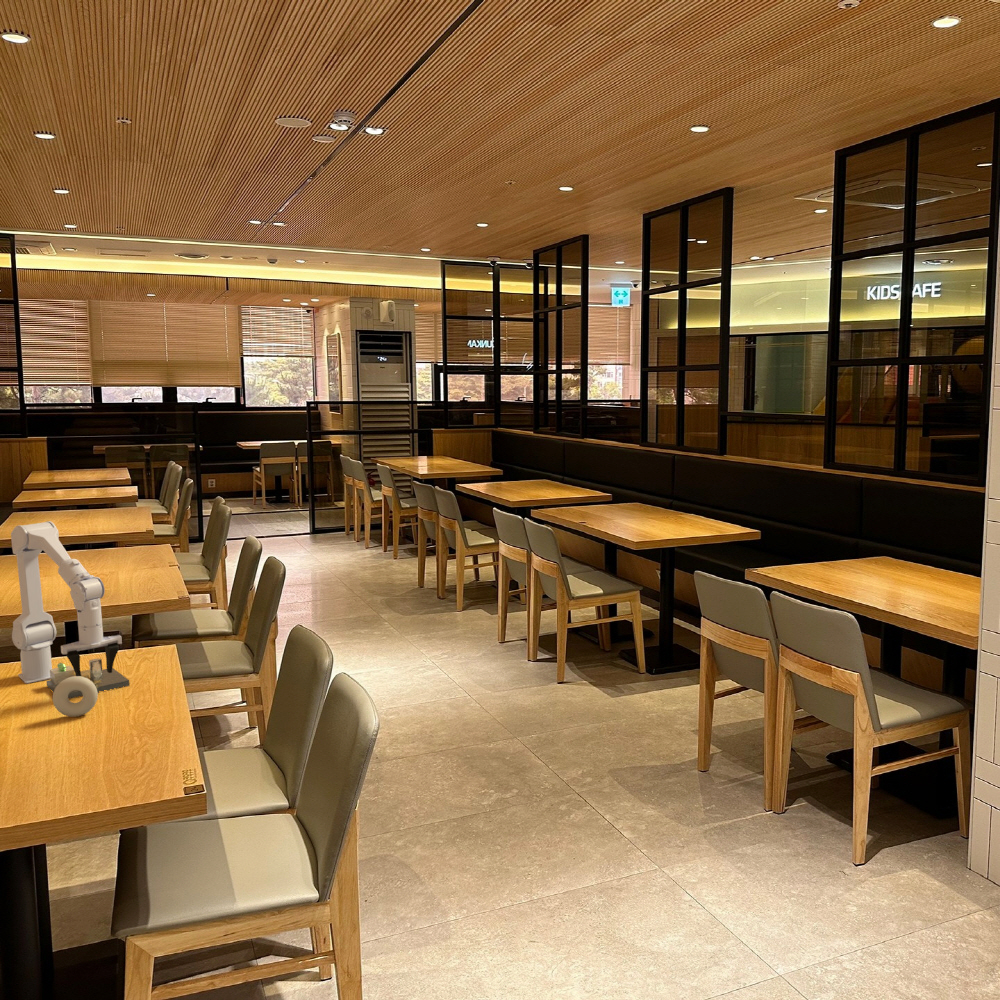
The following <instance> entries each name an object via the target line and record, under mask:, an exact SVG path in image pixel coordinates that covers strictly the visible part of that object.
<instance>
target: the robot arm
mask: <svg viewBox="0 0 1000 1000" xmlns="http://www.w3.org/2000/svg"><path fill="white" fill-rule="evenodd" d="M59 535H60V532H59V529H58V528H57V526H56V525H55V523H54V522H53V521H51V520H49V521H43V522H37V523H30V524H29V523H28V524H24V525H21V524H20V525H19V524H17V525H15V526H14V528H13V529H12V531H11V532H10V538H11V549H12V554H13V555H16V563H17V565H16V566H17V573H18V583H19V592H20V601H21V603H20V604H21V611H22V612H21V614H20V615H19V616H18V617H17V618H16V619H15V620H13V622H12V633H11V640H12V642H13V645H14V646H15V647H16V648H17V649H18V650H20V665H21V666H20V668H21V673H18V674H17V676H18V677H19V678H20V680H21V681H22V682H23V683H24V684H31V683H35V682H41V681H45V680H46V681H47V680H51V679H50V669H53V664H52V651H51V645H53V641H54V640H55V639H56V637H57V628H56V627H57V626H56V625H55V623H54V619H53V616H52V615H51V613H48V612H46V611H44V602H43V594H42V591H43V590H42V583H41V574H40V572H41V571H40V565H39V555H40V554H41V553H42V551H43V552H44V553H45V554H46V555H47V556H48V557H49V558H50V559H51V560H52V561H53V562H54V563H55V564H56V565H57V567H58V570H57V573H58V575H59V576H60V577H61V579H63V581H64V582H65V583H66V585H67V586H68V587H69V589H70V591H69V593H70V598H71V600H72V601H73V606H74V609H75V610H76V613H77V627H78V641H75V642H71V643H67V644H63V645H60V653H61V654H62V655H65V656H66V658H67V659H68V660H69V662H70V664H71V667H72V668H73V669H74V671H75V674H76V676H81V671H82V670H81V655H80V654H79V652H80V651H86V650H92V649H97V648H103V647H104V652H105V661H106V669H107V672H109V673H112V668H114V662H115V659H116V656H117V654H118V652H119V650H120V646H119V645H122V644H123V642H122V641H123V640H122V636H121V635H120V634H117V635H111V636H110V635H109V636H104V630H103V629H104V628H103V619H102V618H103V617H102V615H103V614H102V605H101V599H102V598H104V597H105V593H106V590H105V584H104V582H103V581H102V579H101V578H100V577H99V576H95V575H91V574H90V573H89V572H88V571H87V569H86V568H85V567H84V566H83V565H82V563H81V562H80V560H79V559H76V558H71V557H70V554H69V553H68V552H67V550H66V548H65V547H64V546H63V544H62V542H61V541H60V538H59V537H60V536H59Z"/></svg>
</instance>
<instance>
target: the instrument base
mask: <svg viewBox="0 0 1000 1000" xmlns="http://www.w3.org/2000/svg"><path fill="white" fill-rule="evenodd" d="M102 672H103V679H101V682H99V683H95V684H94V685H95V686H96V688H97V692H98V693H100V692H99V691H103V692H105V691H104V690H107V691H111V690H110V689H112V690H115V689H114V688H116V689H119V688H118V687H121V688H125V686H126V687H130V679H129V678H127V677H126V676H124V675H123V674H121V672H119V671H118V670H116V669H114V667H113V668H112V673H109V672H107V668H105V669H103V668H102ZM73 676H75V671H74V669H73V666H72V665H66V664H65V663H63V662H59V663H58V664H57V667H55V668H52V669H50V679H48V680H46V687H47V686H48V687H47V688H48V689H49V688H50V689H51V690H52V691H53V692H54V690H55V688H56V687H57V685H58V684H59V683H60V682H61V681H63V680H65V679H66V678H69V677H73ZM123 686H124V687H123ZM50 689H49V690H50ZM51 690H50V691H51ZM52 691H51V692H52ZM53 692H52V693H53ZM79 696H80V697H83V694H82V692H81V691H79V690H73V691H71V692H70V693H69V694H68V699H74V698H78V697H79Z"/></svg>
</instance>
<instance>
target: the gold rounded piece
mask: <svg viewBox="0 0 1000 1000" xmlns="http://www.w3.org/2000/svg"><path fill="white" fill-rule="evenodd" d="M88 665H89V669H86V670H80V671H81V676H82V677H85V678H88V679H89V680H90V681H92V682H93V683H94V684H95V683H99V682H101V679H103V672H102V670H103V661H102V658H93V659H90V660H89V661H88ZM75 676H76V674H75Z"/></svg>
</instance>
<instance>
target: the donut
mask: <svg viewBox="0 0 1000 1000" xmlns="http://www.w3.org/2000/svg"><path fill="white" fill-rule="evenodd" d="M73 690H79V691H81V692H82V694H83V696H82V699H80V700H79V701H77V702H72V701H70V700H69V699H68V694H69V693H70V692H71V691H73ZM98 695H99V692H97V688H96V686H95V685H94V683H93V682H92V681H90V680H89V679H88V678H85V677H82V676H73V677H69V678H66V679H65V680H63V681H61V682H60V683H59V684H58V685H57V687H56V688H55V690H54V692H52V703H53V707H54V708H55V709H56V711H58V712H59V713H60V714H61V715H63V716H66V717H69V718H70V717H73V718H74V717H75V718H77V717H80V716H85V715H86V714H88V713H89V712H90V711H92V709H93V708H94V707H95V705H96V704H97V701H98Z"/></svg>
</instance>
